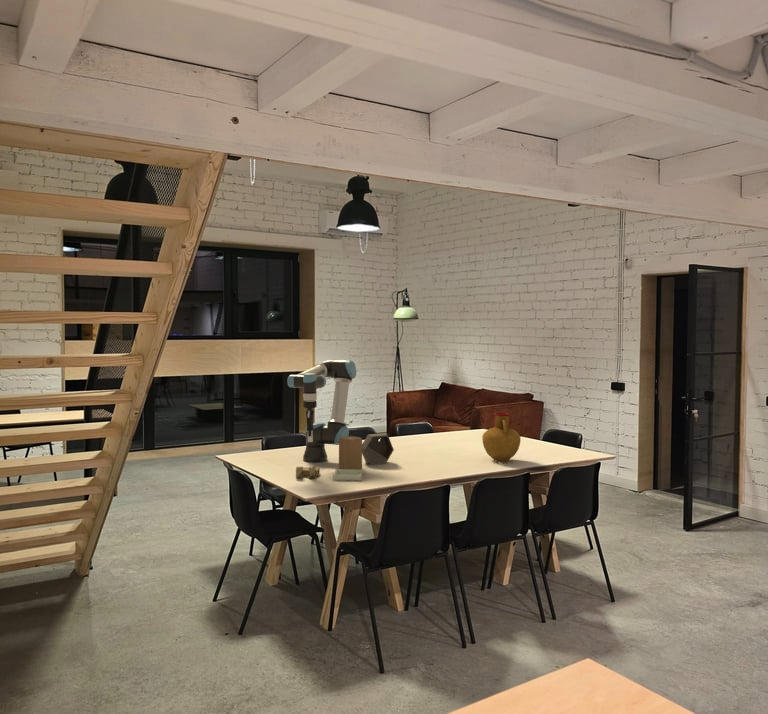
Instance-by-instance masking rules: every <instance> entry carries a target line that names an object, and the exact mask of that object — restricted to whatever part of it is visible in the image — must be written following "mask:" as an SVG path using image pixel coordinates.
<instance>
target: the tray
mask: <svg viewBox="0 0 768 714" xmlns="http://www.w3.org/2000/svg"><path fill="white" fill-rule="evenodd" d="M363 471H364V469H362V470H353V469H339V468H338V469H337V468H335V470H334V472H333V474H332V481H334V480H351V481H350V482H361V481H362V479H361V478H363V476H364V472H363Z"/></svg>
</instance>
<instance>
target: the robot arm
mask: <svg viewBox="0 0 768 714" xmlns="http://www.w3.org/2000/svg"><path fill="white" fill-rule="evenodd" d="M356 377H357V367H356V364H355V362H354V361H353V360H351V359H350V360H349V359H327V360H324V361H321V362H318V363H317V364H315V365H314V366H313V367H311V368H309V369H307V370H305V371H302V372H300V373H298V374H290V375H289V376H288V377H287V381H286V382H287V386H288V387H289V388H294V389H296V388H298V389H301V388H302V389H303V390H302V393H303V394H302V397H303V403H302V404H303V408H304V409H306V410H305V414H306V415H305V416H306V428H305V449H304V453H303V455H302V460H303V461H304V462H309V463H318V462H319V463H321V462H326V461H328V454H327V451H326V448H325V447H326V445H333V446H339V438H341V437H347V436H350V435H349V433H350V431H349V430H350V429H349V427H348V426H347V423H346V421H345V418H346V411H347V403H348V396H349V387H350V384H352V382H353V380H354V379H355V378H356ZM327 378H330V379H331V378H332V379H333V381H334V382H335V383H334V384H335V385H334V393H333V401H332V408H331V414H330V420H329V421H328V422H327V424H325V422H322V421H321V422H314V414H315V413H314V412H315V410H314V408H317V406H318V404H317V397H318V396H317V392H318V391H317V390H318V389H322V388H324V387H325V386H326V385H327Z"/></svg>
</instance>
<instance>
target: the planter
mask: <svg viewBox="0 0 768 714" xmlns="http://www.w3.org/2000/svg"><path fill="white" fill-rule="evenodd" d="M394 450H395V449H394V447H393V445H392V441H391V439H390V437H389V435H387V434H385V433H373V434H372V433H370V434H367V435H366V437H365V439H364V441H362V458H363V459H364V461H365V463H366V464H368V465H370V466H375V465H376V466H377V465H386V464H387V463H388V461H389V459H390V457H391V455H392V454H393V453H394Z"/></svg>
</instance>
